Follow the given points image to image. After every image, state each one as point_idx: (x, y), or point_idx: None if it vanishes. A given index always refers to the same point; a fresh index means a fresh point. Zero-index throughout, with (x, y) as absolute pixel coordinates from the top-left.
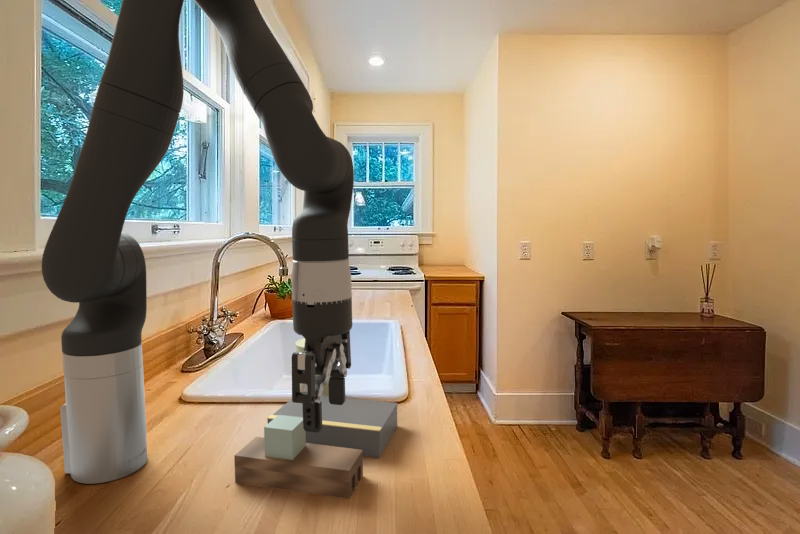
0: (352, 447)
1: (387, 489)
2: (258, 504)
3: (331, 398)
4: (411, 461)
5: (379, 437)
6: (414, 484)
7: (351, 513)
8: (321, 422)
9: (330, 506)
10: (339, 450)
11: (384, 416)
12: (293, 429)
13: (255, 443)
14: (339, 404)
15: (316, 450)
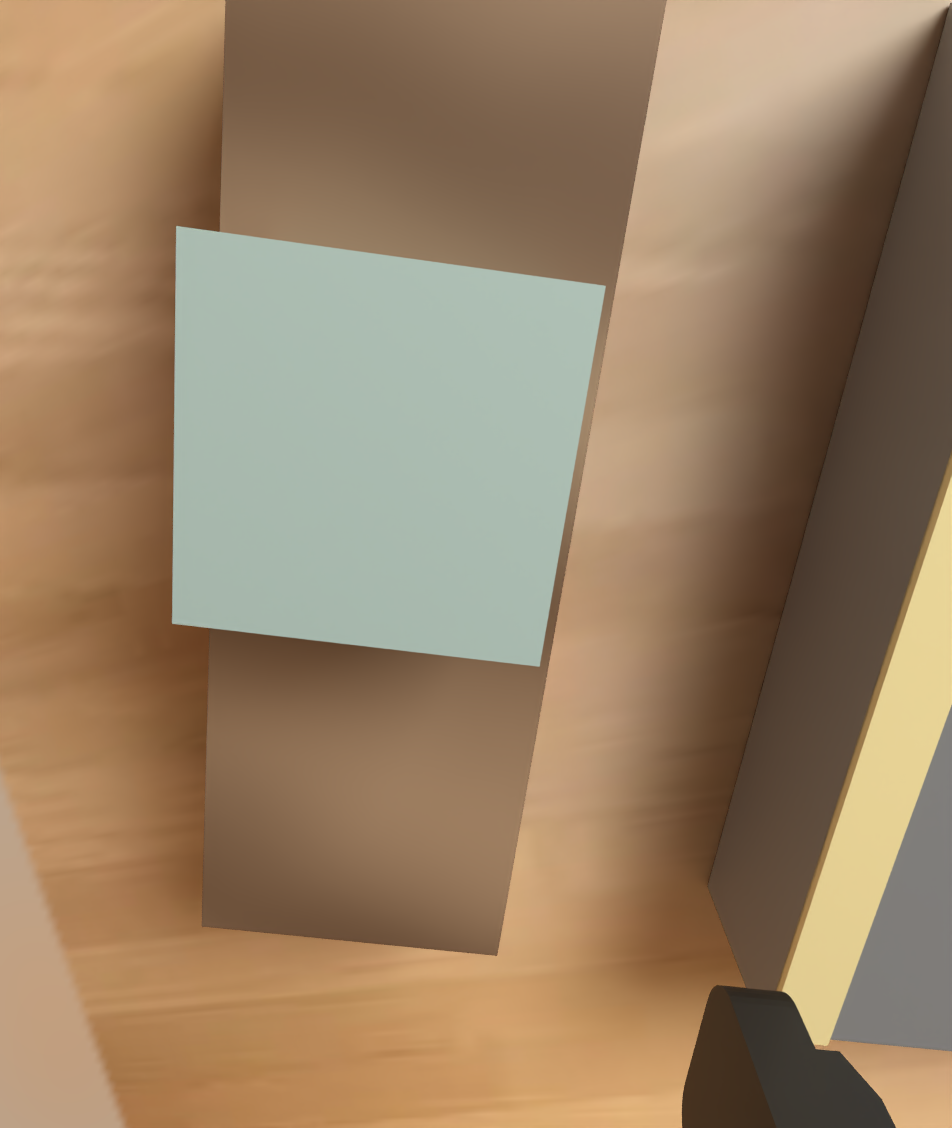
0: (766, 757)
1: (376, 957)
2: (73, 301)
3: (734, 1060)
4: (670, 1035)
5: None
6: (441, 1060)
7: (133, 834)
8: None
9: (165, 726)
10: (470, 815)
11: None
12: (206, 626)
13: (517, 16)
14: (689, 1078)
15: (445, 658)
